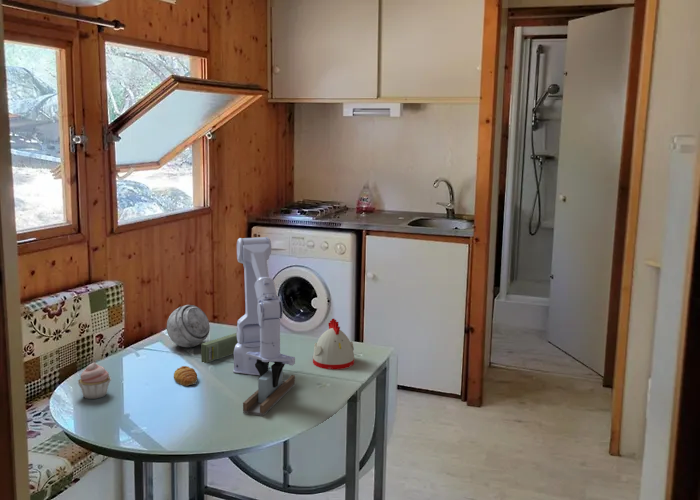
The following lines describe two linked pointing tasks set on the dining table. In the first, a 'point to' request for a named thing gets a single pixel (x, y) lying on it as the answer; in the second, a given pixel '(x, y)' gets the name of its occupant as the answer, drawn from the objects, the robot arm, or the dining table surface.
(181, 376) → the pastry
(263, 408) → the floor track
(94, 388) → the cupcake
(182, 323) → the decorative orb
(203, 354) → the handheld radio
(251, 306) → the robot arm
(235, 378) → the dining table surface
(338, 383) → the dining table surface
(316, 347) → the kitchen timer
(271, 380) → the door panel
